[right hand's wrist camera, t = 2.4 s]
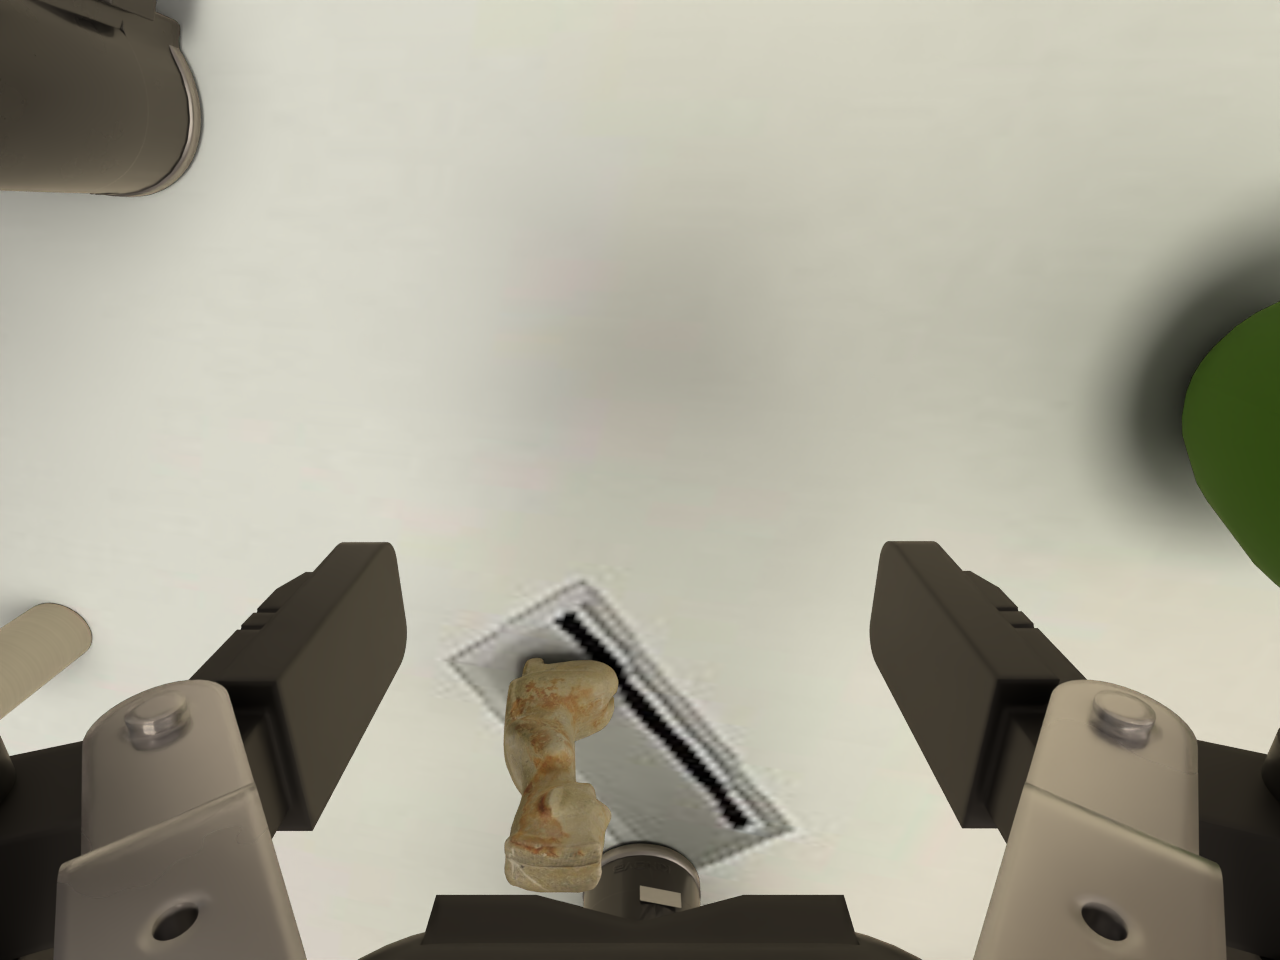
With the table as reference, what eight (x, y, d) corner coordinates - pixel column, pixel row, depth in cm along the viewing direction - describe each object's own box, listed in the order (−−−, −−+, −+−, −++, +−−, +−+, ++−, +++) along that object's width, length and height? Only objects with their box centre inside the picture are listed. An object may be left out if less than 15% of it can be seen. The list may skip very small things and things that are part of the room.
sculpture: (611, 717, 49) (599, 920, 35) (511, 705, 48) (458, 906, 34) (622, 650, 46) (615, 838, 32) (518, 636, 46) (465, 821, 32)
